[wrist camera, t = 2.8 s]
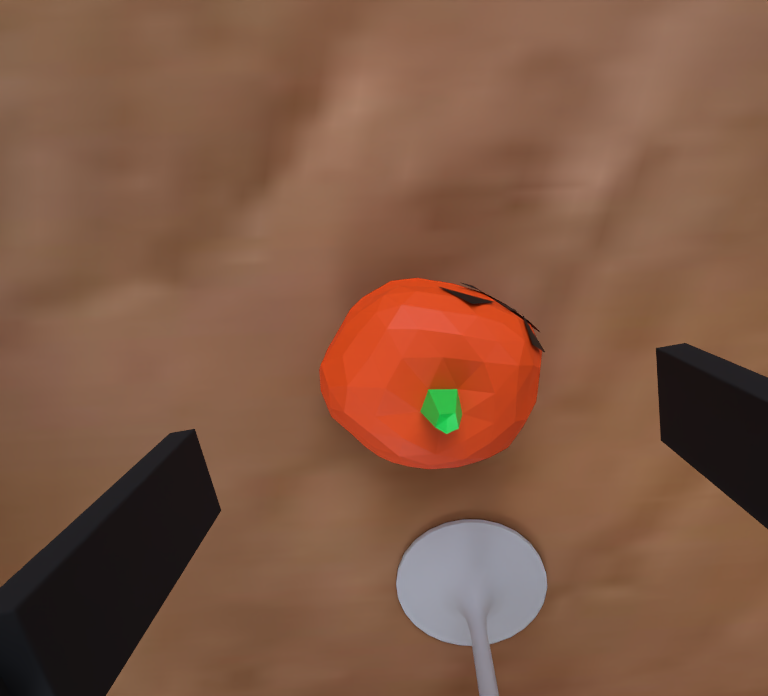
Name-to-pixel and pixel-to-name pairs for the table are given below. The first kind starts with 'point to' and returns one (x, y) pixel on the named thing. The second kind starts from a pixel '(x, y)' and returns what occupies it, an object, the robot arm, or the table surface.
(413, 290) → the pumpkin
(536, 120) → the table surface
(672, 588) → the table surface
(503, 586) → the wineglass
